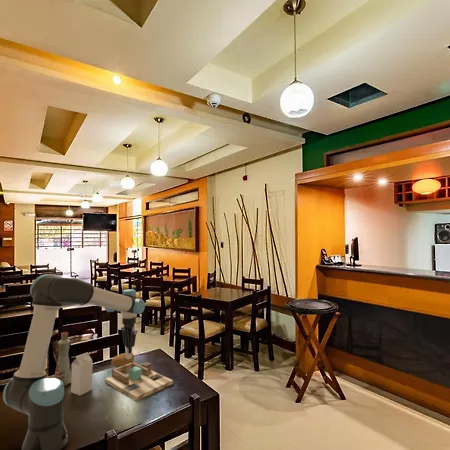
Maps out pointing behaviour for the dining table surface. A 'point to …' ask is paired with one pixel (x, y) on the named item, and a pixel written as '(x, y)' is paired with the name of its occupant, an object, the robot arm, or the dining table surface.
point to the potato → (121, 360)
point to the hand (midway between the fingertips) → (128, 358)
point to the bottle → (63, 360)
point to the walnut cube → (147, 365)
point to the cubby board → (137, 381)
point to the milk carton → (81, 374)
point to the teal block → (135, 373)
